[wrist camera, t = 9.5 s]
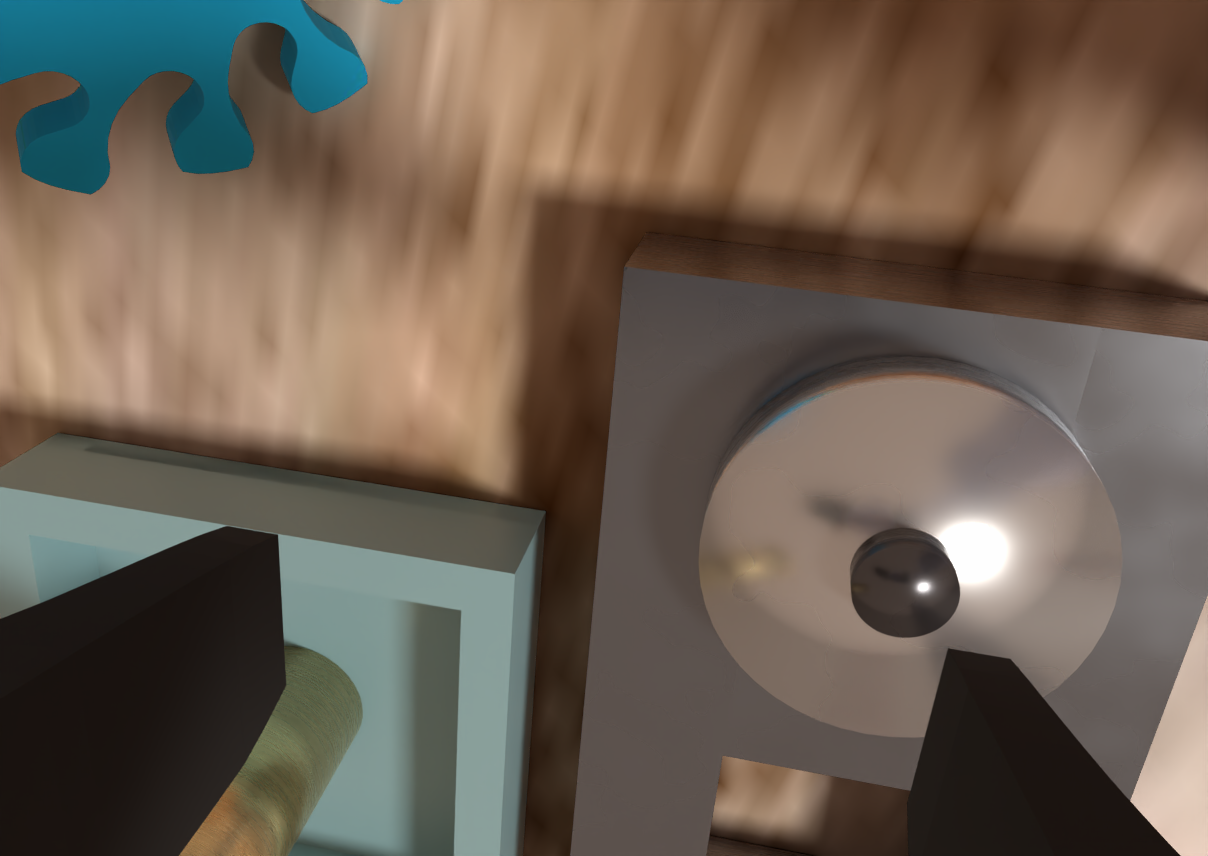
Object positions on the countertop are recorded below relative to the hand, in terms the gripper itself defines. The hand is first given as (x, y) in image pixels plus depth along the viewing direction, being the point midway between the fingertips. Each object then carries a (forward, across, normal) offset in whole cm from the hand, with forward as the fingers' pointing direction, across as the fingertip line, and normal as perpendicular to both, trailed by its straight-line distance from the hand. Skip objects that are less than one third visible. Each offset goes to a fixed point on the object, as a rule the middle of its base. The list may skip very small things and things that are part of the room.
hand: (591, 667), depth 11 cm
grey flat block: (+9, -4, +6) cm, 12 cm away
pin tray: (+9, +8, +9) cm, 15 cm away
